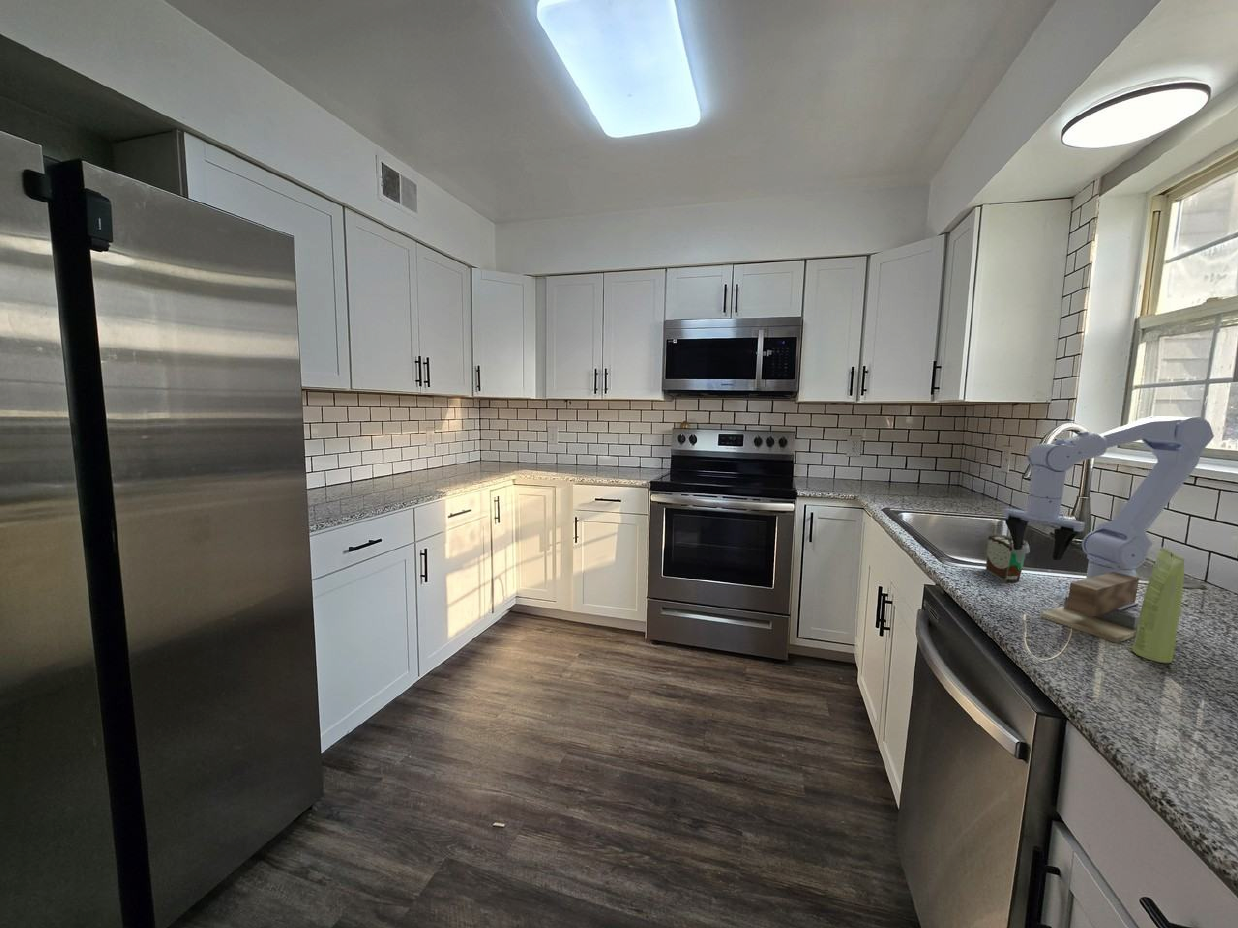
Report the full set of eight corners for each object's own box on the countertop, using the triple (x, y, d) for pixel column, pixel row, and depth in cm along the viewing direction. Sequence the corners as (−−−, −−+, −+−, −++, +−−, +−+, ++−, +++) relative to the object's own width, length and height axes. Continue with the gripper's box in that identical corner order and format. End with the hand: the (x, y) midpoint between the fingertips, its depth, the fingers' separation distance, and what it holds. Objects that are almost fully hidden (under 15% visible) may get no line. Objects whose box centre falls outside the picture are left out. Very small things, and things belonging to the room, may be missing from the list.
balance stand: (1083, 604, 110) (1086, 589, 109) (1158, 626, 99) (1161, 610, 99) (1040, 616, 102) (1043, 601, 102) (1117, 643, 92) (1120, 625, 91)
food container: (1037, 586, 120) (1042, 547, 119) (1008, 584, 122) (1014, 545, 120) (1008, 570, 132) (1013, 534, 131) (982, 567, 133) (987, 532, 132)
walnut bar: (1109, 596, 106) (1113, 571, 105) (1134, 603, 102) (1139, 578, 102) (1066, 608, 98) (1070, 582, 98) (1092, 616, 95) (1096, 589, 94)
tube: (1184, 664, 84) (1205, 556, 82) (1163, 667, 83) (1183, 557, 81) (1143, 648, 90) (1161, 546, 87) (1123, 650, 89) (1141, 547, 86)
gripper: (999, 491, 115) (991, 547, 117) (1076, 504, 102) (1067, 566, 104) (1015, 490, 118) (1008, 544, 120) (1093, 501, 105) (1083, 562, 107)
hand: (1036, 554), depth 112 cm, fingers open, 7 cm apart
